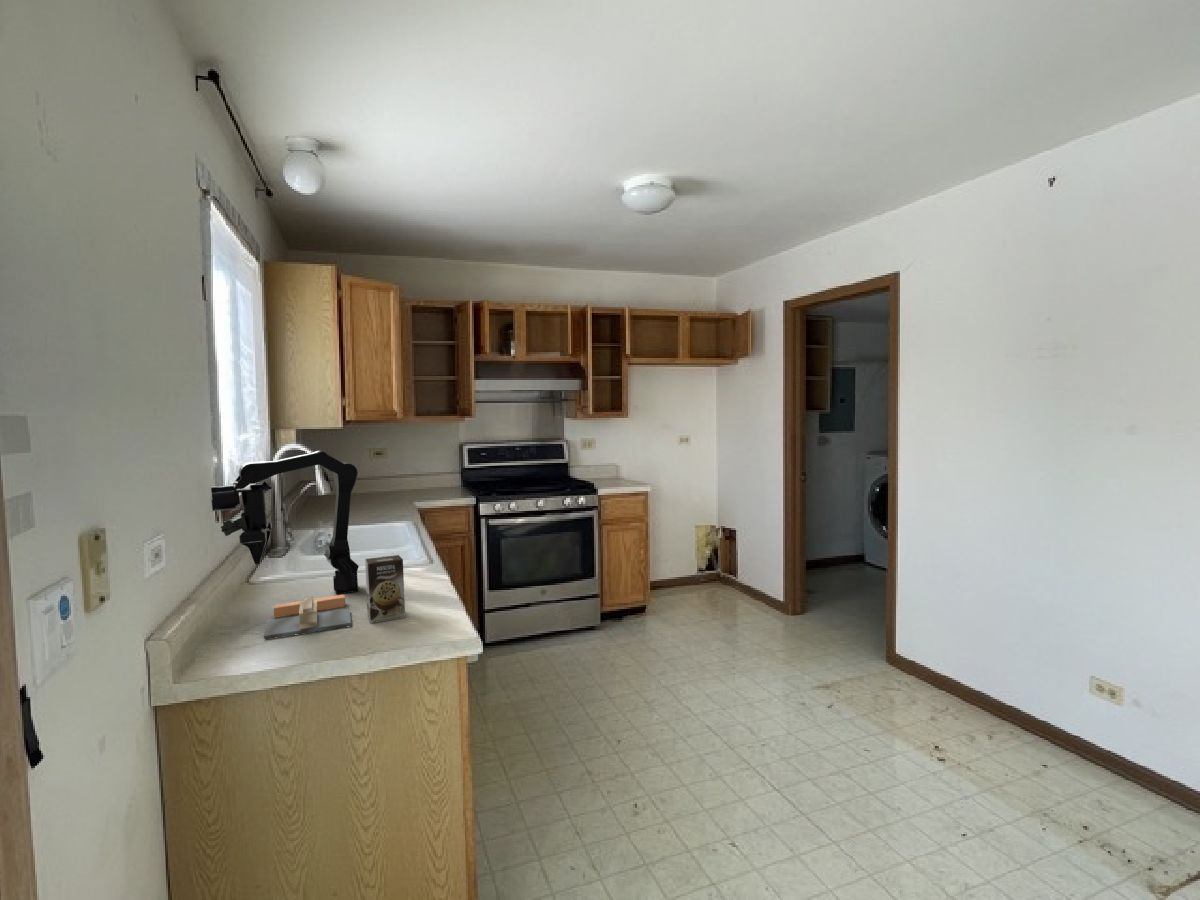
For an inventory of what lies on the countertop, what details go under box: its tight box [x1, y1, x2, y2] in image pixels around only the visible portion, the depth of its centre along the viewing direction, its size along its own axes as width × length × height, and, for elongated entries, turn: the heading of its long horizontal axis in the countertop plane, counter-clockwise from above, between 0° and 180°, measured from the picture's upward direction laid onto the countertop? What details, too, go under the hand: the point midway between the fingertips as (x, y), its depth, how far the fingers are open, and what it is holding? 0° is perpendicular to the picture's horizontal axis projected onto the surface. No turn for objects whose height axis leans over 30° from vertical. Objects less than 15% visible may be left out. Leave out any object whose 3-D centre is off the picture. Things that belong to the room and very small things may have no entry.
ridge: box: [263, 596, 352, 640], centre depth 163 cm, size 20×12×6 cm, turn 114°
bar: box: [273, 594, 346, 618], centre depth 175 cm, size 18×3×3 cm, turn 117°
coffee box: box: [364, 554, 406, 624], centre depth 168 cm, size 9×6×16 cm
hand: (259, 560), depth 179 cm, fingers open, 9 cm apart
